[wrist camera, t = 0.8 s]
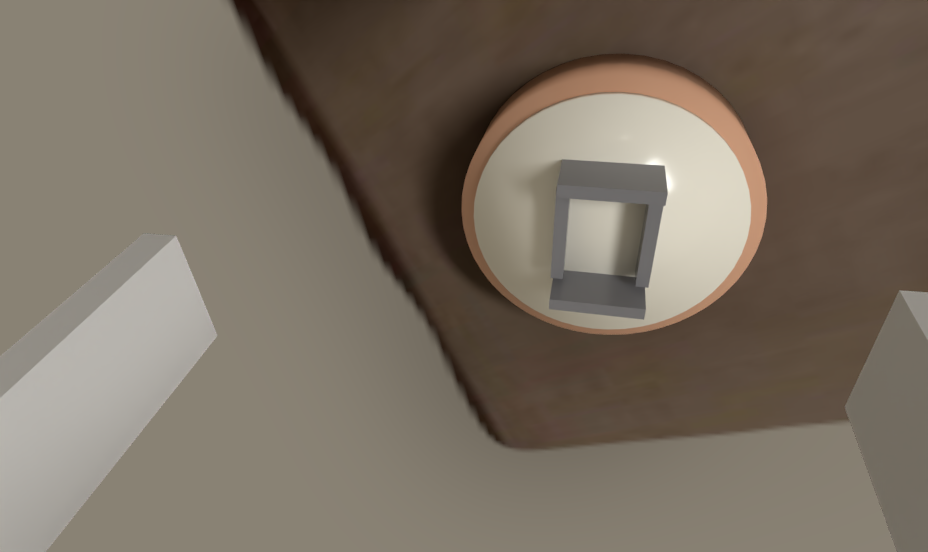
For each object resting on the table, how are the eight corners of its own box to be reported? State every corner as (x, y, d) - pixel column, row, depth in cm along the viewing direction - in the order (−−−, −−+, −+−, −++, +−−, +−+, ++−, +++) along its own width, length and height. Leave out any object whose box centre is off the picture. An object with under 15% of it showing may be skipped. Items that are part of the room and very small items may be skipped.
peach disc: (470, 49, 28) (439, 91, 24) (792, 58, 26) (829, 107, 21) (476, 287, 36) (453, 353, 32) (720, 313, 34) (735, 389, 29)
